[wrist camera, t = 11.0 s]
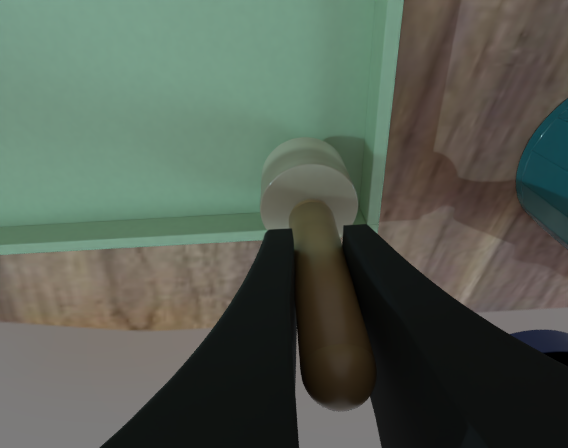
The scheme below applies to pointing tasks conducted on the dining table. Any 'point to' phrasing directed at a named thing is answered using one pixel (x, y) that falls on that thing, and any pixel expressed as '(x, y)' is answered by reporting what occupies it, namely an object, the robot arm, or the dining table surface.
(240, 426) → the robot arm
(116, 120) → the tray
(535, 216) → the cup
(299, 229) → the brush
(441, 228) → the dining table surface
